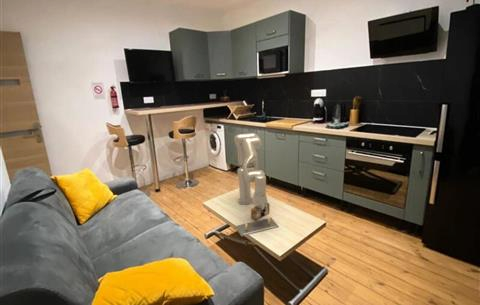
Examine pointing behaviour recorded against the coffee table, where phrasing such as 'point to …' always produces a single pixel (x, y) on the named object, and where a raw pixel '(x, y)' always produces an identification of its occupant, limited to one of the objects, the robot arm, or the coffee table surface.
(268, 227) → the board
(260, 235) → the coffee table surface
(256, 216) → the wooden block
